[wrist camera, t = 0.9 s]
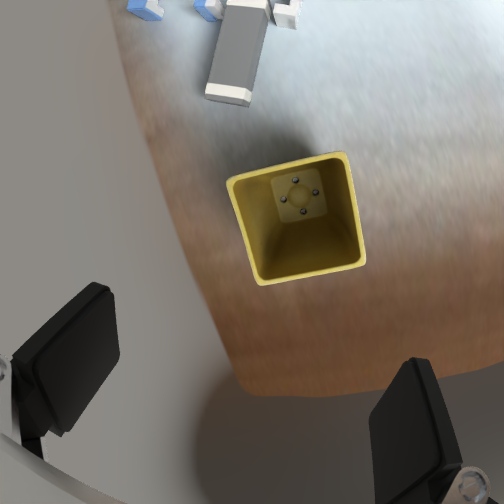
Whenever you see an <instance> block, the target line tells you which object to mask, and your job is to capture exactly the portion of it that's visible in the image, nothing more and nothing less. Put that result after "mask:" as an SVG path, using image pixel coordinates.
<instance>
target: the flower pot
mask: <svg viewBox="0 0 504 504" xmlns="http://www.w3.org/2000/svg"><path fill="white" fill-rule="evenodd" d="M294 177H297V178H298V180H299V181H298V182H297V183H294V182H293V178H294ZM226 186H227V190H228V193H229V196H230V199H231V202H232V205H233V208H234V211H235V214H236V217H237V220H238V223H239V226H240V229H241V232H242V236H243V239H244V243H245V246H246V250H247V253H248V257H249V260H250V264H251V267H252V271H253V275H254V278H255V280H256V282H257V284H258V285H269V284H274V283H279V282H285V281H290V280H294V279H300V278H305V277H310V276H315V275H321V274H326V273H331V272H337V271H342V270H346V269H351V268H356V267H359V266H363V265H364V264H365V262H366V253H365V247H364V241H363V235H362V229H361V223H360V217H359V211H358V206H357V201H356V195H355V190H354V185H353V179H352V173H351V169H350V164H349V160H348V157H347V155H346V153H345V152H343V151H335V152H329V153H324V154H320V155H316V156H311V157H307V158H303V159H299V160H294V161H290V162H286V163H282V164H277V165H273V166H269V167H264V168H260V169H256V170H252V171H248V172H244V173H241V174H237V175H235V176H232V177H230V178H229V179H228V180H227V181H226ZM313 190H318V194H317V195H314V194H313ZM282 197H286V199H287V200H286V202H282V201H281V198H282ZM301 209H305V210H306V213H305V214H302V213H301V212H300V211H301Z"/></svg>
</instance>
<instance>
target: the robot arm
mask: <svg viewBox="0 0 504 504" xmlns="http://www.w3.org/2000/svg"><path fill="white" fill-rule="evenodd" d="M12 356H13V359H12V360H11V361H9V360H8V358H6V357H5V356H4V355H1V354H0V504H127V503H124V502H122V501H120V500H117V499H115V498H113V497H111V496H108V495H106V494H104V493H102V492H100V491H98V490H96V489H94V488H92V487H90V486H88V485H86V484H84V483H82V482H80V481H78V480H76V479H75V478H73V477H71V476H69V475H67V474H66V473H64V472H62V471H60V470H59V469H57V468H55V467H53V466H52V465H50V464H49V460H48V455H47V449H46V443H45V434H46V433H47V431H48V430H49V431H51V432H53V433H54V434H56V435H58V436H59V437H62V435H63V434H64V432H69V431H70V430H71V429H72V427H73V426H74V424H75V423H76V421H77V420H78V419H79V417H80V416H81V414H82V413H83V411H84V410H85V408H86V407H87V405H88V404H89V402H90V401H91V399H92V398H93V397H94V395H95V394H96V392H97V391H98V389H99V388H100V386H101V385H102V384H103V382H104V381H105V379H106V378H107V377H108V375H109V374H110V372H111V371H112V370H113V368H114V367H115V365H116V364H117V362H118V360H119V356H120V351H119V344H118V334H117V325H116V314H115V302H114V294H113V293H112V292H111V291H110V288H109V287H108V286H105V285H102V284H99V283H96V282H92V283H90V284H89V285H88V286H87V287H85V288H84V289H83V290H82V291H81V292H80V293H78V294H77V295H76V296H75V297H74V298H73V299H72V300H70V301H69V302H68V303H67V304H66V305H65V306H64V307H63V308H61V309H60V310H59V311H58V312H57V313H56V314H55V315H54V316H53V317H52V318H50V319H49V320H48V321H47V322H46V323H45V324H44V325H43V326H42V327H41V328H40V329H39V330H38V331H37V332H36V333H34V334H33V335H32V336H31V337H30V338H29V339H28V340H27V341H26V342H25V343H24V344H23V345H22V346H21V347H20V348H19V349H18V350H17V351H16V352H15V353H14V354H13V355H12ZM369 429H370V439H371V449H372V460H373V473H374V486H375V487H374V488H375V504H498V503H497V502H495V501H494V500H493V499H491V498H490V497H489V493H490V483H489V480H488V478H487V476H486V474H485V473H484V472H483V471H482V470H480V469H478V468H476V467H470V466H469V467H465V468H463V469H461V464H462V463H463V461H462V457H461V453H460V450H459V446H458V443H457V439H456V436H455V433H454V429H453V426H452V423H451V420H450V417H449V414H448V411H447V408H446V405H445V402H444V399H443V396H442V393H441V391H440V388H439V385H438V383H437V380H436V377H435V374H434V372H433V369H432V366H431V364H430V362H429V360H427V359H422V358H415V357H412V358H410V359H409V360H408V361H405V362H404V363H403V364H402V366H401V368H400V369H399V371H398V373H397V374H396V376H395V377H394V379H393V381H392V382H391V384H390V385H389V387H388V388H387V390H386V391H385V393H384V394H383V396H382V398H381V399H380V400H379V402H378V403H377V405H376V406H375V408H374V409H373V411H372V412H371V414H370V417H369Z"/></svg>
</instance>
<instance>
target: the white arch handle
mask: <svg viewBox="0 0 504 504" xmlns="http://www.w3.org/2000/svg"><path fill="white" fill-rule="evenodd" d="M158 1H159V0H129V3H128V6H127V9H128V11H130V12H131V13H133V14H135V15H137V16H139V17H141V18H142V19H144V20H146V21H151V20H162V17H163V14H164V9H162V8H161V7H159V6H158V5H157V4H158ZM302 3H303V0H291V1H290V5H284V4H278V3H275V6H274V10H273V15H274V18H275V22H276V25H277V26H279V27H285V28H290V29H297V24H298V20H299V16H300V11H301V7H302ZM194 7H195V9H196V10H197V11H198V12H199V13H200V14H201V15H202V16H203V17H204V18H205V19H206V20H207V21H215V22H216V19H222V20H223V17H224V14H225V10H226V9H225V8H224V7H223V5H222V4H221V3H220V1H219V0H195V2H194Z"/></svg>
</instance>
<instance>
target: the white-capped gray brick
mask: <svg viewBox="0 0 504 504" xmlns="http://www.w3.org/2000/svg"><path fill="white" fill-rule="evenodd" d="M226 5H227V6H226V10H225V14H224V17H223V21H222V25H221V29H220V33H219V37H218V41H217V45H216V49H215V53H214V57H213V62H212V66H211V70H210V75H209V80H208V83H207V85H206V90H205V93H206V94H205V98H204V99H207V100H211V101H215V102H221V103H227V104H233V105H239V106H245V107H249V103H250V101H251V97H252V90H253V85H254V81H255V76H256V72H257V67H258V63H259V59H260V55H261V50H262V46H263V42H264V38H265V33H266V29H267V25H268V21H269V19H270V15H271V9H272V8H271V5H270V1H269V0H227V4H226Z"/></svg>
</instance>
